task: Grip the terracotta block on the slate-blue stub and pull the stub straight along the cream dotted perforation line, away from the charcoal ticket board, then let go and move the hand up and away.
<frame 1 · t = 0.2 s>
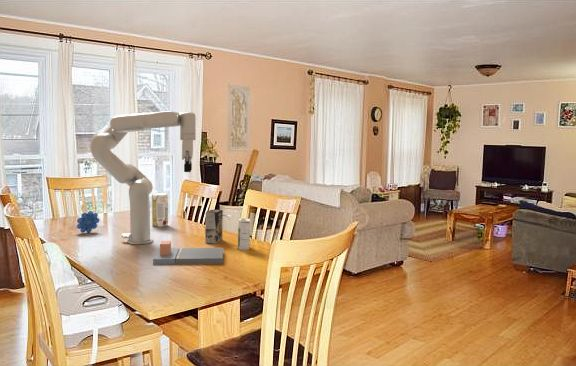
hand: (188, 171, 234), 36 cm above the table, tool pointing down, fingers open, 9 cm apart
grapes: (88, 232, 254), on the table
syrup box: (243, 248, 228), on the table
coffee box: (214, 241, 240), on the table
ticket board: (200, 258, 208), on the table
juice carton: (160, 225, 276), on the table
stub: (166, 250, 206), point 4 cm above the table, slide at 0.0 cm
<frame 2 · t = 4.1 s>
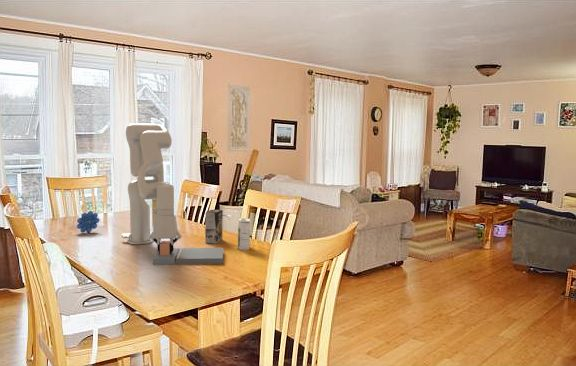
hand: (165, 252, 206), 3 cm above the table, tool pointing down, fingers closed on stub, 4 cm apart
stub: (166, 250, 206), point 4 cm above the table, slide at 0.0 cm, touching gripper
everything else where it was.
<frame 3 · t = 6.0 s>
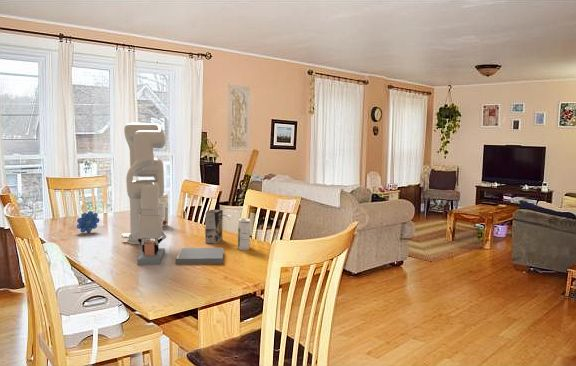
hand: (150, 252, 205), 3 cm above the table, tool pointing down, fingers closed on stub, 4 cm apart
stub: (151, 250, 205), point 4 cm above the table, slide at 6.5 cm, touching gripper
everything else where it was.
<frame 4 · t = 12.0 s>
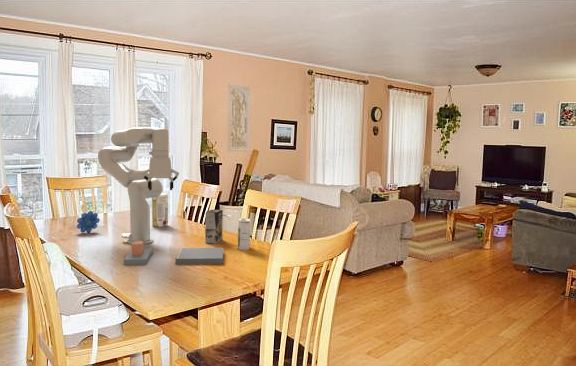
hand: (160, 189, 222), 28 cm above the table, tool pointing down, fingers open, 9 cm apart
stub: (138, 250, 204), point 4 cm above the table, slide at 12.0 cm
everything else where it was.
at the end: stub slide at 12.0 cm; the gripper is holding nothing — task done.
